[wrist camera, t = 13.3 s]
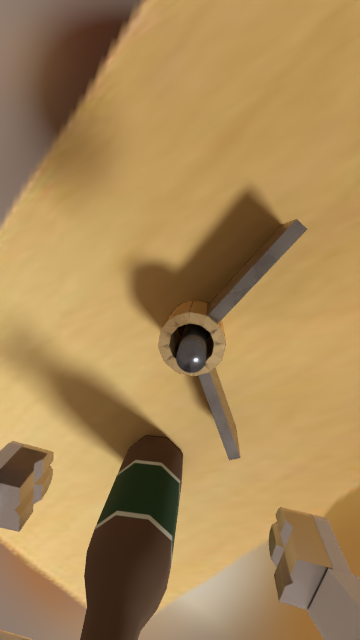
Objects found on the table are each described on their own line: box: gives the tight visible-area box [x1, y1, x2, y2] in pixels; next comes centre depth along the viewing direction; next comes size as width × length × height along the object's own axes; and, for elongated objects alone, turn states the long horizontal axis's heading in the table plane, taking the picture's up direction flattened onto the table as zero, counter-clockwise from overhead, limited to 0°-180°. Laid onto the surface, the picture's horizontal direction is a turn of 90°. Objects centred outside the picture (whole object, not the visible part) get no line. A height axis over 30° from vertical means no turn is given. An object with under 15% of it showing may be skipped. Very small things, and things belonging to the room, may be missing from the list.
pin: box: [176, 323, 207, 373], centre depth 26 cm, size 2×2×9 cm
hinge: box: [158, 219, 307, 460], centre depth 27 cm, size 21×15×6 cm
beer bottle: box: [80, 436, 183, 640], centre depth 24 cm, size 8×8×24 cm
